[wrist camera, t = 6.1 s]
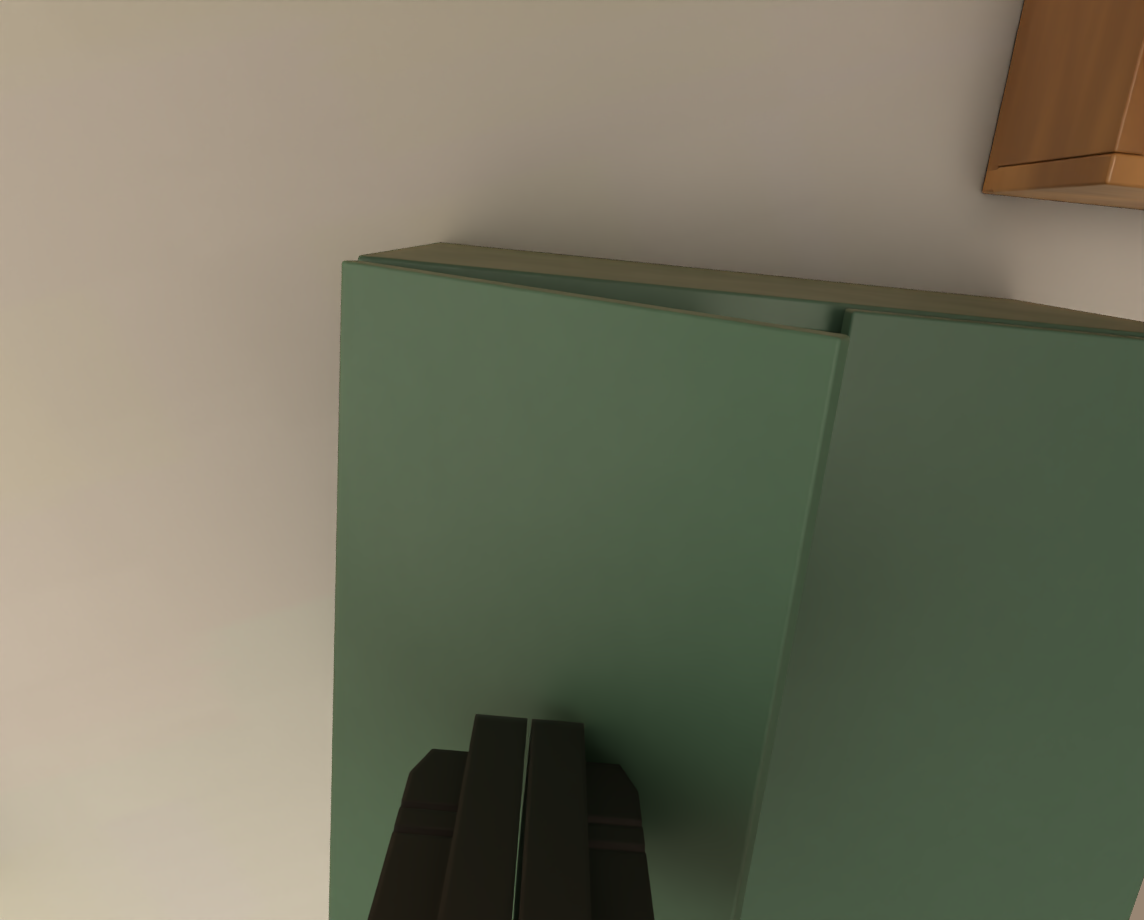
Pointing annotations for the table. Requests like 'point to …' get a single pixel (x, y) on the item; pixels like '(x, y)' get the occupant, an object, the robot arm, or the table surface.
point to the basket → (1073, 106)
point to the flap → (570, 552)
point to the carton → (942, 599)
